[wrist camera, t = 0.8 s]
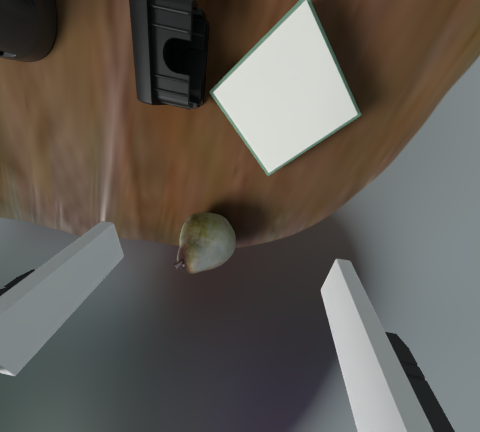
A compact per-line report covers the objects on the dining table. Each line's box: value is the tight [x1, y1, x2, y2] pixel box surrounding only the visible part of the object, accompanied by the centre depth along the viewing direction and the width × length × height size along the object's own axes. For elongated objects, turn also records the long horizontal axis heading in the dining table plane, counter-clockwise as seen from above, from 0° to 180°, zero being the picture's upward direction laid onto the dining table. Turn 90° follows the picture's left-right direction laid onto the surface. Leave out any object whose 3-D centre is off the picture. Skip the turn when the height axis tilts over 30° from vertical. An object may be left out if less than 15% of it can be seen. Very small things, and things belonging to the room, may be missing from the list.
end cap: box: [129, 0, 209, 109], centre depth 23 cm, size 10×7×7 cm
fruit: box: [174, 212, 236, 274], centre depth 33 cm, size 10×9×12 cm
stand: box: [209, 0, 361, 176], centre depth 24 cm, size 13×13×4 cm
